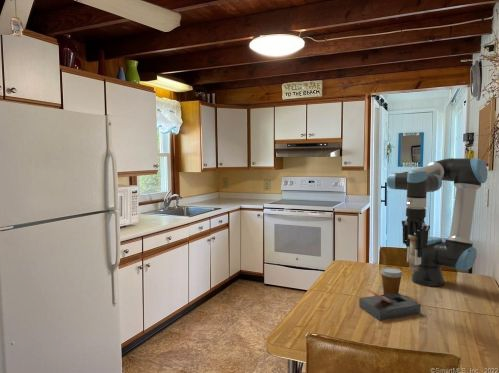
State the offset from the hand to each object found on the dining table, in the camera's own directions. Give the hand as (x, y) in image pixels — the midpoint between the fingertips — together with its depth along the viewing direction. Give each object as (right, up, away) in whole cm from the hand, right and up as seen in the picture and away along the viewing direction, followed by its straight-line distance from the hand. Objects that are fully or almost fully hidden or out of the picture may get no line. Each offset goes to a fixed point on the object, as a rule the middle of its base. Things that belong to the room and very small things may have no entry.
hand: (413, 262), depth 156 cm
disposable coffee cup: (-2, -19, +19) cm, 27 cm away
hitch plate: (-10, -21, +2) cm, 23 cm away
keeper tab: (-15, -15, 0) cm, 21 cm away
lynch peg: (0, -3, 0) cm, 3 cm away
